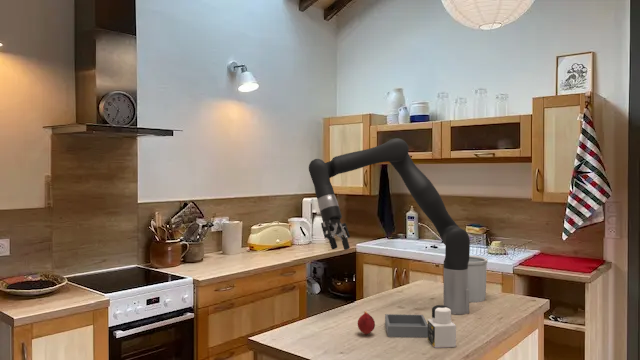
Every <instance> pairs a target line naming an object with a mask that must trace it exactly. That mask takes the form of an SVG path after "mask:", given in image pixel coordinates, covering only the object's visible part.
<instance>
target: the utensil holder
mask: <svg viewBox="0 0 640 360" xmlns="http://www.w3.org/2000/svg"><path fill="white" fill-rule="evenodd" d="M487 265H488V259H487V258H486V257H484V256H480V255H471V254H469V263H468V289H469V303H482V302H484V301H486V295H487V271H488V270H487V267H488V266H487Z"/></svg>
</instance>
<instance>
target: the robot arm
mask: <svg viewBox="0 0 640 360" xmlns="http://www.w3.org/2000/svg"><path fill="white" fill-rule="evenodd" d="M385 162H389V163H390V165H391V166H393V168H394V170H395V171H396V173H398V174H399V176H400V178H401V179H402V181H403V183H404V185H405V186H406V188H407V190H408V192H409V194H410V196H412V198H413V200H414V201H415V203H416V204H417V206H418V207H419V208H420V209H421V211H422V212H423V213H424V215H425V216H426V217H427V218H428V219H429V220H430V222H431V223H432V225H433V226H434V227H435V229H436V232H437V233H438V235H439V237H440V239H441V240H442V243H443V244H444V246H445V253H444V255H445V256H444V260H443V302H442V303H443V306H447V307H449V308H450V309H451V315H465V314H469V313H470V302H469V289H468V263H469V255H471V254H470V251H471V250H470V249H471V247H470V246H471V245H470V244H471V243H470V242H471V240H470V236H469V233H468V232H467V231H466V230H465V229H463V228H461V227H460V226H459V225H458V224H457V222H455V221H454V219H453V218H452V216H451V215H450V214H449V212H448V210H447V208H446V206H445V204H444V200H443V199H442V197H441V195H440V193H439V191H438V190H437V189H436V187H435V186H434V184H433V183H432V181H431V180H430V179H429V178H428V177H427V176H426V175H425V173H423V172H422V171H421V170H420V169H419V168H418V167H417V165H416V164H415V163H414V161H413V160H412V158H411V156H410V154H409V145H408V143H407V142H406V141H405V140H404V139H402V138H398V137H396V138H395V137H394V138H391V139H390V140H388V141H386V142H384V143H383V144H379V145H376V146H374V147H370V148H367V149H362V150H358V151H353V152H347V153H344V154H343V153H342V154H340V155H336V156H333V158H331V160H330V161H327V162H325V161H324V160H322V159H320V158H315V159H313V160H311V161H310V162H309V165H308V172H309V175H310V178H311V182H312V183H313V186H314V192H315V196H316V200H317V204H318V205H317V206H318V209H319V213H320V216H321V220H322V222H320V223H321V224H320V225H321V229H322V233H323V237H324V238H325V239H327V240H328V241H329V245H330V247H331V250H336V249H338V244H337V241H336V238H335V236H337V237H338V238H340V240H341V243H342V246H343V250H345V251H346V250H350V244H349V240H348V239H349V238H351V234H350V231H349V229H348V225H347V223H345V222H344V223H341V219H342V218H343V215H342V212H341V209H340V206H339V201H338V199H337V197H336V194H335V191H334V188H333V185H332V182H331V180H330V179H331V178H333V177H335V176H337V175H340V174H345V173H349V172H352V171H356V170H359V169H362V168H364V167H367V166H370V165H375V164H379V163H385Z"/></svg>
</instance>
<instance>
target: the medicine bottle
mask: <svg viewBox="0 0 640 360" xmlns="http://www.w3.org/2000/svg"><path fill="white" fill-rule="evenodd" d="M427 324H428V338H427V341H428V342H429V343H430V345H431V346H432V347H433V348H434V349H435V348H436V349H437V348H438V349H439V348H440V349H441V348H456V347H457V326H456V324H455V323H454V322H453V321H452V314H451V309H450V308H449V307H447V306H443V305H442V304H441V305H439V304H438V305H437V304H436V305H434V306H432V308H431V318H428V319H427Z"/></svg>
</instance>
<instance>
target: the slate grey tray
mask: <svg viewBox="0 0 640 360" xmlns="http://www.w3.org/2000/svg"><path fill="white" fill-rule="evenodd" d="M384 325H385V330H386V333H387V334H386V335H387V338H424V339H425V338H427V339H428V321H427V320H426V318H425V316H424V315H423V314H398V313H397V314H396V313H395V314H394V313H390V314H389V313H386V314H384Z"/></svg>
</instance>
